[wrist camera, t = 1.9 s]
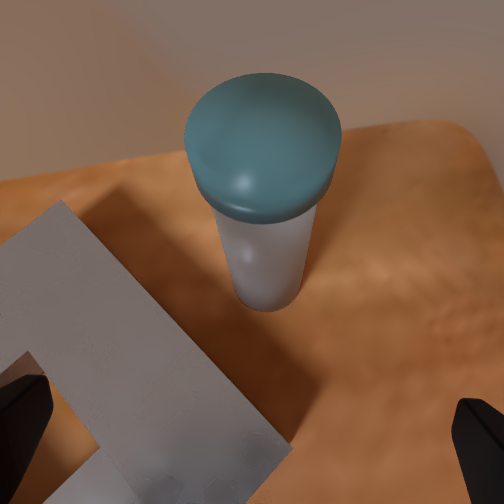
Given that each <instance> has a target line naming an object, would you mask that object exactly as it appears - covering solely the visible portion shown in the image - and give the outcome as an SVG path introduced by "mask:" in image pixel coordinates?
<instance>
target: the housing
mask: <svg viewBox="0 0 504 504" xmlns="http://www.w3.org/2000/svg"><path fill="white" fill-rule="evenodd" d="M43 372H45V374H46V375H47V376H48V378H49V379H50V380H51V382H52V383H53V384H54V386H55V387H56V388H57V390H58V391H59V392H60V394H61V395H62V396H63V398H64V399H65V400H66V402H67V403H68V404H69V406H70V407H71V408H72V410H73V411H74V412H75V414H76V415H77V416H78V418H79V419H80V420H81V422H82V423H83V424H84V426H85V427H86V429H87V430H88V431H89V433H90V434H91V435H92V437H93V438H94V439H95V441H96V442H97V443H98V445H99V446H100V448H99V449H98V450H97V451H96V452H95V453H94V454H93V455H92V456H91V457H90V458H89V459H88V460H87V461H86V462H85V463H84V464H83V465H82V466H81V467H80V468H79V469H78V470H76V471H75V472H74V473H73V474H72V475H71V476H70V477H69V478H68V479H67V480H66V481H65V482H64V483H63V484H62V485H61V486H60V487H59V488H58V489H57V490H56V491H55V492H54V493H53V494H52V495H51V496H50V497H49V498H48V499H47V500H46V501H45V502H44V503H43V504H245V503H246V501H247V500H248V499H249V498H250V497H251V496H252V495H253V493H254V492H255V491H256V490H257V489H258V488H259V487H260V485H261V484H262V483H263V482H264V481H265V480H266V479H267V477H268V476H269V475H270V474H271V473H272V472H273V471H274V469H275V468H276V467H277V466H278V465H279V464H280V463H281V461H282V460H283V459H284V458H285V457H286V456H287V455H288V453H289V452H290V451H291V450H292V449H293V448H292V447H291V446H290V445H289V444H288V442H287V441H286V440H285V439H284V438H283V437H282V436H281V435H280V434H279V433H278V432H277V431H276V430H275V428H274V427H273V426H272V425H271V424H270V423H269V422H268V421H267V420H266V419H265V418H264V417H263V416H262V415H261V413H260V412H259V411H258V410H257V409H256V408H255V407H254V406H253V405H252V404H251V403H250V402H249V401H248V399H247V398H246V397H245V396H244V395H243V394H242V393H241V392H240V391H239V390H238V389H237V388H236V387H235V386H234V384H233V383H232V382H231V381H230V380H229V379H228V378H227V377H226V376H225V375H224V374H223V373H222V372H221V370H220V369H219V368H218V367H217V366H216V365H215V364H214V363H213V362H212V361H211V360H210V359H209V358H208V357H207V355H206V354H205V353H204V352H203V351H202V350H201V349H200V348H199V347H198V346H197V345H196V344H195V343H194V341H193V340H192V339H191V338H190V337H189V336H188V335H187V334H186V333H185V332H184V331H183V330H182V329H181V328H180V326H179V325H178V324H177V323H176V322H175V321H174V320H173V319H172V318H171V317H170V316H169V315H168V314H167V312H166V311H165V310H164V309H163V308H162V307H161V306H160V305H159V304H158V303H157V302H156V301H155V300H154V299H153V297H152V296H151V295H150V294H149V293H148V292H147V291H146V290H145V289H144V288H143V287H142V286H141V285H140V283H139V282H138V281H137V280H136V279H135V278H134V277H133V276H132V275H131V274H130V273H129V272H128V271H127V270H126V268H125V267H124V266H123V265H122V264H121V263H120V262H119V261H118V260H117V259H116V258H115V257H114V256H113V254H112V253H111V252H110V251H109V250H108V249H107V248H106V247H105V246H104V245H103V244H102V243H101V242H100V241H99V239H98V238H97V237H96V236H95V235H94V234H93V233H92V232H91V231H90V230H89V229H88V228H87V227H86V225H85V224H84V223H83V222H82V221H81V220H80V219H79V218H78V217H77V216H76V215H75V214H74V213H73V212H72V210H71V209H70V208H69V207H68V206H67V205H66V204H65V203H64V202H63V201H62V200H60V201H58V202H57V203H56V204H54V205H53V206H52V207H50V208H49V209H48V210H46V211H45V212H44V213H42V214H41V215H40V216H39V217H37V218H36V219H35V220H33V221H32V222H31V223H29V224H28V225H27V226H25V227H24V228H23V229H21V230H20V231H19V232H17V233H16V234H15V235H14V236H12V237H11V238H10V239H8V240H7V241H6V242H4V243H3V244H2V245H0V388H1V387H3V386H5V385H7V384H9V383H11V382H12V381H14V380H16V379H18V378H20V377H22V376H24V375H26V374H40V375H41V374H42V373H43Z"/></svg>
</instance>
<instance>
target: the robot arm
mask: <svg viewBox="0 0 504 504" xmlns="http://www.w3.org/2000/svg"><path fill="white" fill-rule="evenodd" d="M52 412H53V399H52V395H51V390H50V386H49V381H48V378H47V377H46V376H45V375H40V374H26V375H24V376H22V377H20V378H18V379H16V380H14V381H12V382H11V383H9V384H7V385H5V386H3V387H1V388H0V504H9V502H10V500H11V499H12V497H13V495H14V493H15V492H16V490H17V488H18V486H19V484H20V482H21V481H22V478H23V476H24V474H25V472H26V470H27V468H28V466H29V464H30V461H31V459H32V457H33V455H34V453H35V450H36V448H37V446H38V444H39V442H40V439H41V437H42V435H43V433H44V431H45V428H46V426H47V424H48V422H49V420H50V417H51V415H52ZM451 433H452V440H453V443H454V446H455V450H456V453H457V457H458V460H459V463H460V467H461V470H462V473H463V477H464V480H465V484H466V487H467V490H468V494H469V497H470V500H471V504H504V415H503V414H502V413H500V412H499V411H497V410H496V409H495V408H493V407H492V406H491V405H489V404H488V403H486V402H485V401H483V400H481V399H475V398H462V399H460V400H459V401H458V404H457V408H456V412H455V416H454V420H453V424H452V429H451Z"/></svg>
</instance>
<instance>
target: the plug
mask: <svg viewBox="0 0 504 504" xmlns="http://www.w3.org/2000/svg"><path fill="white" fill-rule="evenodd" d="M184 135H185V136H184V137H185V138H184V142H185V148H186V152H187V156H188V159H189V162H190V165H191V168H192V172H193V175H194V178H195V181H196V184H197V187H198V189H199V191H200V193H201V194H202V196H203V197H204V198H205V200H206V201H207V202H208V203H209V204H210V205H211V206H212V209H213V212H214V216H215V220H216V223H217V227H218V231H219V234H220V238H221V242H222V245H223V249H224V253H225V256H226V260H227V264H228V267H229V271H230V275H231V278H232V282H233V286H234V289H235V292H236V294H237V296H238V297H239V299H240V300H241V301H242V302H243V303H244V304H245V305H246V306H248V307H250V308H252V309H254V310H257V311H261V312H273V311H277V310H280V309H282V308H285V307H286V306H288V305H289V304H290V303H291V302H292V301H293V300H294V299H295V297H296V296H297V294H298V292H299V289H300V286H301V281H302V276H303V271H304V266H305V261H306V257H307V252H308V247H309V242H310V237H311V232H312V228H313V223H314V218H315V213H316V208H317V203H318V202H319V201H320V199H321V198H322V197H323V196H324V194H325V193H326V191H327V190H328V187H329V185H330V183H331V180H332V177H333V173H334V169H335V165H336V161H337V157H338V153H339V149H340V144H341V125H340V121H339V118H338V115H337V113H336V111H335V109H334V107H333V106H332V104H331V103H330V101H329V100H328V99H327V98H326V97H325V96H324V95H323V94H322V93H321V92H320V91H318V90H317V89H316V88H314V87H313V86H311V85H309V84H308V83H306V82H304V81H302V80H299V79H297V78H293V77H290V76H286V75H281V74H274V73H257V74H249V75H244V76H240V77H236V78H233V79H230V80H228V81H226V82H224V83H222V84H220V85H218V86H216V87H215V88H213V89H212V90H210V91H209V92H208V93H207V94H205V96H203V97H202V98H201V99H200V100H199V102H198V103H197V104H196V105H195V107H194V108H193V110H192V111H191V113H190V115H189V117H188V120H187V123H186V127H185V133H184Z"/></svg>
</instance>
